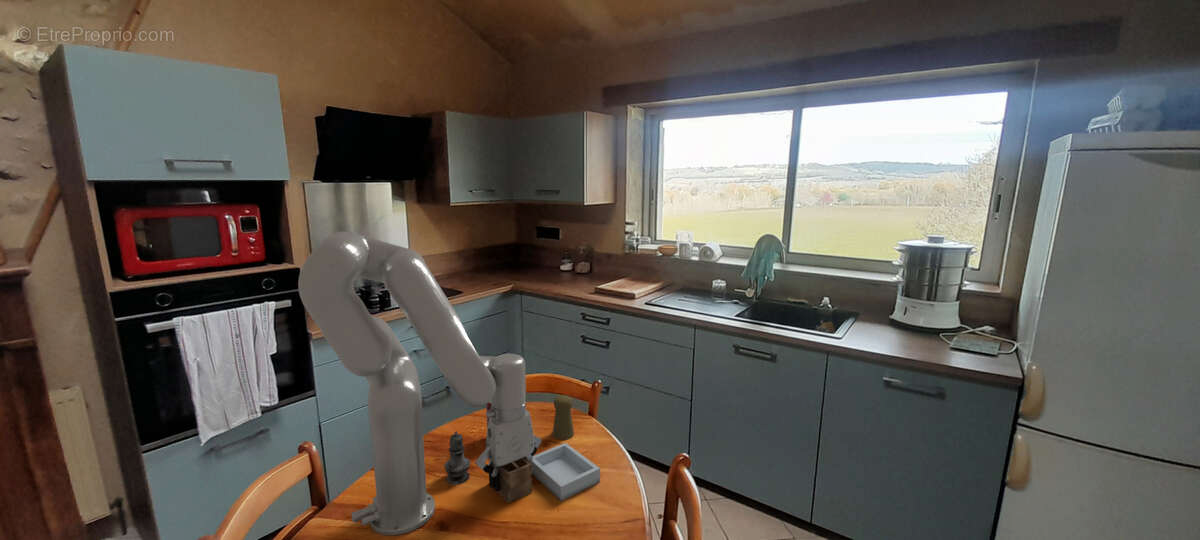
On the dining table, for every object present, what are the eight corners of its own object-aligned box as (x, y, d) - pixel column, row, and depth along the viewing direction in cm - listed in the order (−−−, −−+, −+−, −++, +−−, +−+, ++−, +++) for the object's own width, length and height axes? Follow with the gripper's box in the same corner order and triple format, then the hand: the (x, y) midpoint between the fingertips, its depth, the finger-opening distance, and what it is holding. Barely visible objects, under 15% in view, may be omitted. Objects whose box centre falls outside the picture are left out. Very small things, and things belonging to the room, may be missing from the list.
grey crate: (561, 501, 104) (561, 486, 103) (528, 471, 114) (528, 457, 114) (599, 481, 110) (600, 468, 110) (565, 455, 121) (565, 442, 120)
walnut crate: (508, 503, 103) (507, 474, 101) (489, 483, 109) (488, 455, 108) (532, 492, 106) (531, 464, 105) (512, 473, 113) (512, 447, 112)
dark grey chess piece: (463, 487, 108) (461, 439, 106) (440, 483, 109) (437, 436, 107) (475, 472, 114) (473, 426, 111) (452, 468, 115) (450, 423, 113)
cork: (573, 440, 128) (573, 402, 126) (551, 439, 128) (550, 402, 126) (574, 428, 134) (574, 392, 132) (553, 428, 134) (553, 392, 132)
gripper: (479, 429, 96) (482, 506, 99) (551, 405, 107) (551, 475, 110) (464, 415, 102) (467, 488, 105) (533, 393, 113) (534, 461, 116)
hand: (510, 481), depth 108 cm, fingers open, 7 cm apart
